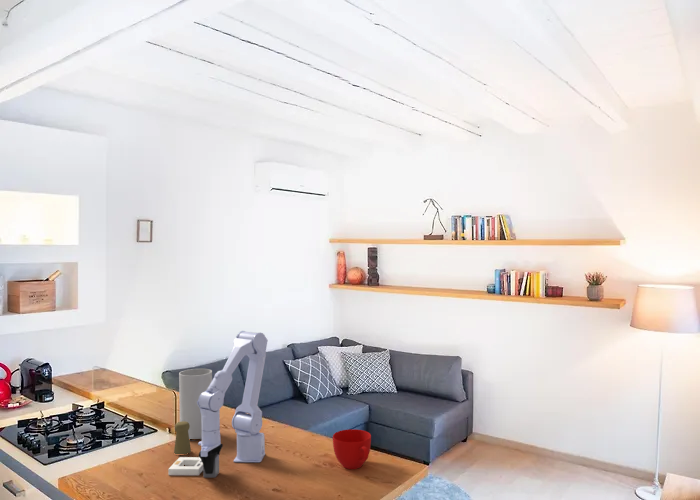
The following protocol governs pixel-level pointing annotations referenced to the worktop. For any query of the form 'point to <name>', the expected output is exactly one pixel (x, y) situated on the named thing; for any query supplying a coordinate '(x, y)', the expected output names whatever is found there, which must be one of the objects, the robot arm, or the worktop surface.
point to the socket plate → (186, 466)
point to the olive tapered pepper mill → (182, 438)
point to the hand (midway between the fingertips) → (211, 470)
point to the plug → (215, 469)
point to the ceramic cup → (352, 447)
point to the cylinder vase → (193, 398)
